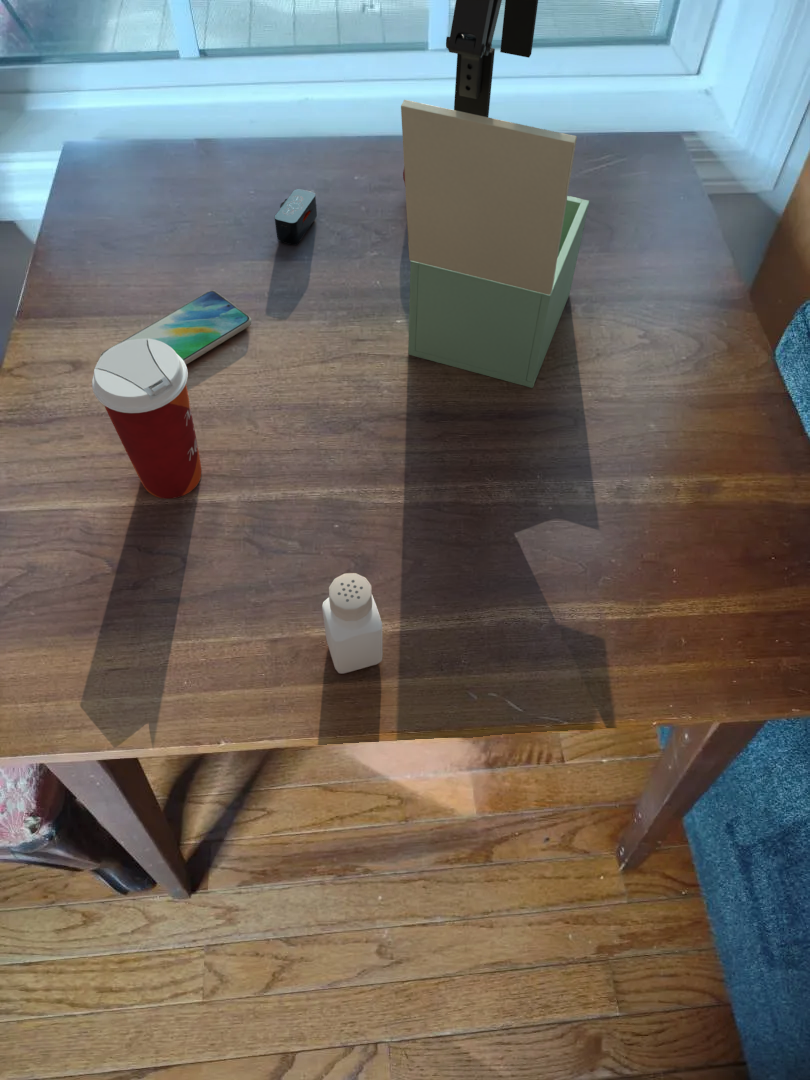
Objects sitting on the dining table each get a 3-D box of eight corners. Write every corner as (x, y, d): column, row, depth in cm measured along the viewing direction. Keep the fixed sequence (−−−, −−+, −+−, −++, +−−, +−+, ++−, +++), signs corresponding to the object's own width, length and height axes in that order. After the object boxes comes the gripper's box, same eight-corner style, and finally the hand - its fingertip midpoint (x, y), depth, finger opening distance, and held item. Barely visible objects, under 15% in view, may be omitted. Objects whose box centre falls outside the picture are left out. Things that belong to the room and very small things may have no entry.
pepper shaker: (370, 623, 72) (368, 562, 65) (384, 665, 70) (384, 606, 62) (324, 636, 72) (316, 575, 64) (337, 678, 70) (330, 620, 62)
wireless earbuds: (321, 213, 104) (319, 189, 102) (297, 248, 100) (294, 224, 98) (286, 204, 105) (283, 180, 102) (261, 239, 101) (257, 215, 99)
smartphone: (96, 354, 89) (212, 287, 95) (98, 360, 89) (213, 294, 96) (137, 390, 86) (254, 318, 92) (139, 396, 86) (255, 325, 93)
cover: (404, 99, 66) (400, 106, 66) (577, 135, 63) (574, 143, 63) (411, 254, 81) (409, 260, 81) (552, 289, 78) (550, 295, 78)
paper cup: (229, 476, 81) (203, 367, 70) (162, 522, 78) (123, 416, 66) (180, 431, 84) (147, 319, 73) (113, 473, 81) (67, 364, 70)
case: (454, 265, 99) (461, 171, 89) (569, 294, 97) (589, 200, 87) (407, 354, 91) (410, 261, 81) (532, 388, 88) (550, 296, 79)
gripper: (522, -287, 64) (494, 17, 82) (406, -181, 51) (402, 157, 68) (621, -276, 63) (571, 32, 80) (530, -163, 49) (493, 177, 67)
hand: (493, 90), depth 74 cm, fingers open, 13 cm apart
